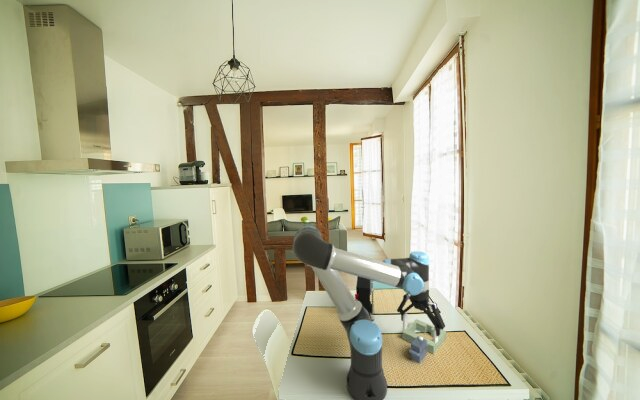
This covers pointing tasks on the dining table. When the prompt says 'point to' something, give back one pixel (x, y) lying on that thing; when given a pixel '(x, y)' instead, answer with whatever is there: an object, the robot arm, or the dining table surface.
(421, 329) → the green tray
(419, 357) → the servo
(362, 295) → the electrical component
